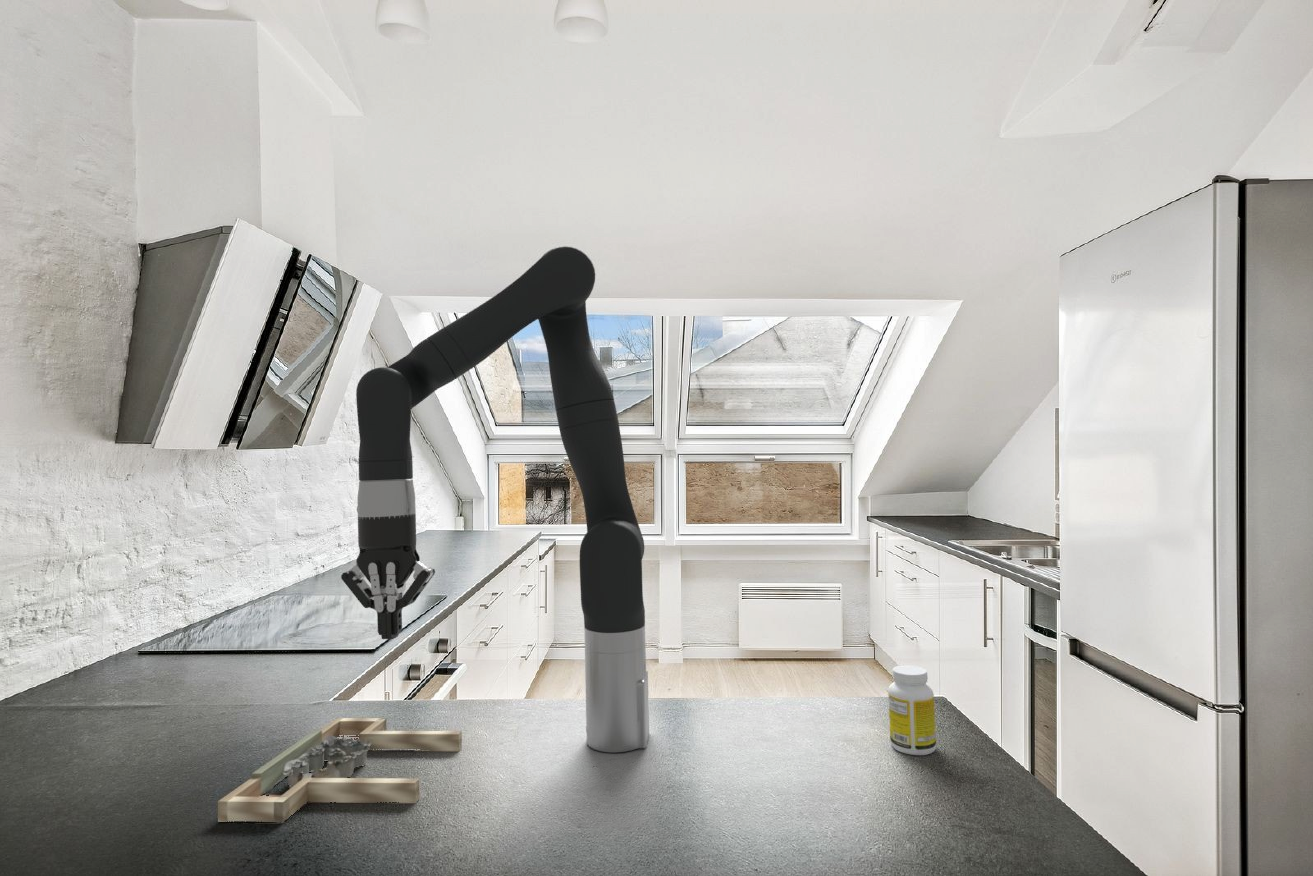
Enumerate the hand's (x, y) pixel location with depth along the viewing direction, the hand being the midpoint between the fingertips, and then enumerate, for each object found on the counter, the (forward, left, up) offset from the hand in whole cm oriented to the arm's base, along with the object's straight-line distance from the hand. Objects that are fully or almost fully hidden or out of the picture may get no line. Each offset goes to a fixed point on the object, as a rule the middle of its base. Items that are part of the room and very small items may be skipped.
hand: (389, 637), depth 94 cm
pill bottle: (-73, -9, -19) cm, 76 cm away
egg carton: (+9, +1, -19) cm, 21 cm away
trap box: (+4, 0, -19) cm, 19 cm away
